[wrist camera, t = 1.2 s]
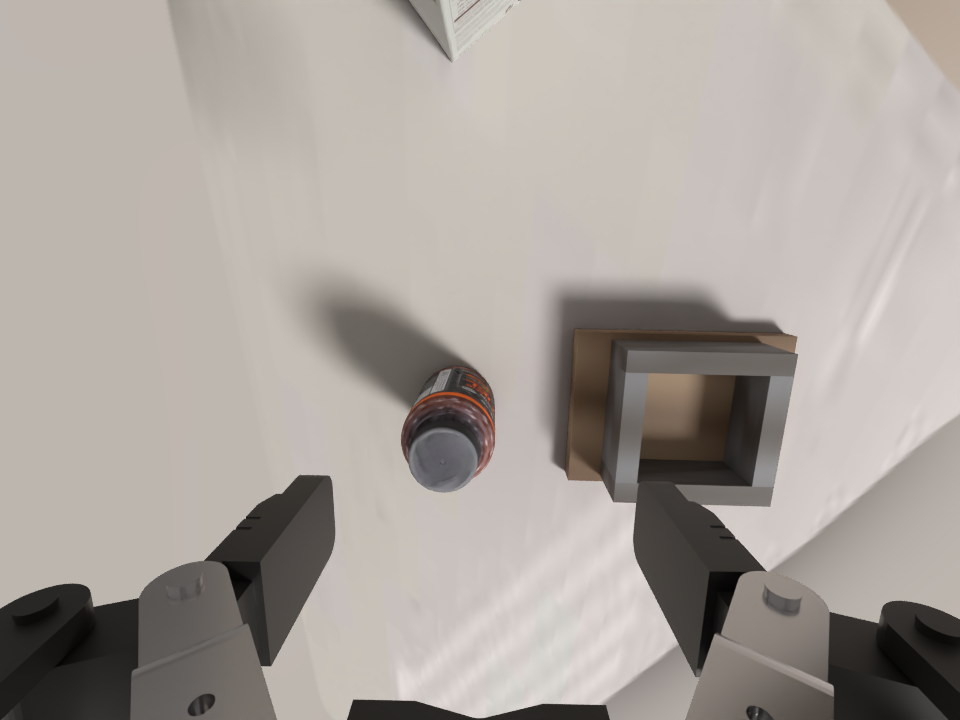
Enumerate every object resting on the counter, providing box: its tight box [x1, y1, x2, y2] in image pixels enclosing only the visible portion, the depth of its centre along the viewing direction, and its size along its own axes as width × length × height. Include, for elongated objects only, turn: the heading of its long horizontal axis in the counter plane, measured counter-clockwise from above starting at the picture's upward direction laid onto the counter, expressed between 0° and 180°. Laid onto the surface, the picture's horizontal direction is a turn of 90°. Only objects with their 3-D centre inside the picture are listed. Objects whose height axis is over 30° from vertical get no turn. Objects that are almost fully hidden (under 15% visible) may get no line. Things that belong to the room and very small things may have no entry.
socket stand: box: [565, 329, 798, 507], centre depth 33 cm, size 12×16×6 cm
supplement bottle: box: [401, 367, 495, 492], centre depth 31 cm, size 6×6×11 cm
